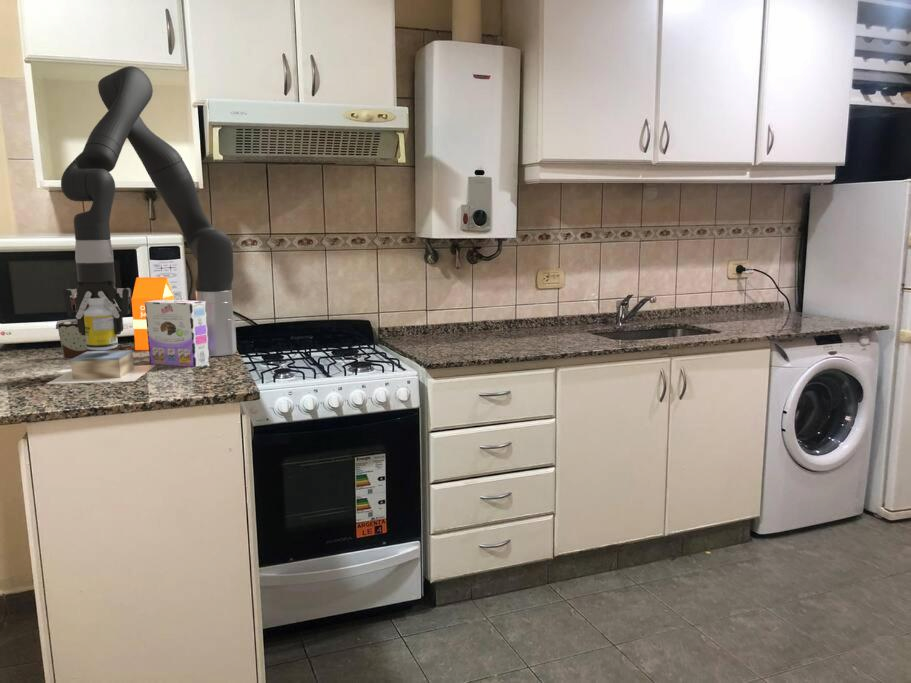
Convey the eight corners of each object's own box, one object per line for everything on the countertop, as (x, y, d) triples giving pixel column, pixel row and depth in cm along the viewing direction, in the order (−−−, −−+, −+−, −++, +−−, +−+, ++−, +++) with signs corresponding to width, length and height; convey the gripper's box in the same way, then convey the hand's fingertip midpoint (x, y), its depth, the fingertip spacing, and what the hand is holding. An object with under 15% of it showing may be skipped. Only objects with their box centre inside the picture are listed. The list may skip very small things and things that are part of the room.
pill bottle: (93, 346, 165) (89, 296, 163) (122, 345, 165) (118, 295, 163) (81, 351, 158) (76, 299, 156) (111, 350, 159) (107, 298, 157)
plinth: (133, 368, 168) (132, 350, 168) (120, 377, 159) (119, 357, 158) (88, 370, 167) (87, 351, 166) (72, 379, 157) (70, 359, 156)
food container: (116, 355, 191) (113, 318, 189) (103, 360, 185) (100, 321, 183) (73, 354, 192) (69, 318, 190) (58, 359, 186) (54, 321, 184)
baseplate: (156, 369, 173) (156, 365, 173) (134, 385, 155) (134, 381, 155) (77, 371, 170) (77, 367, 170) (46, 388, 153) (45, 383, 153)
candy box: (210, 366, 176) (207, 300, 174) (195, 371, 171) (190, 302, 168) (165, 363, 181) (161, 298, 178) (148, 367, 175) (143, 300, 172)
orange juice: (166, 350, 199) (161, 278, 196) (134, 350, 199) (129, 278, 196) (177, 345, 207) (172, 276, 204) (147, 345, 207) (142, 276, 204)
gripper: (134, 259, 163) (139, 331, 166) (67, 260, 161) (73, 332, 164) (123, 261, 156) (129, 336, 159) (53, 261, 154) (60, 338, 157)
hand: (101, 334), depth 161 cm, fingers closed on pill bottle, 6 cm apart
